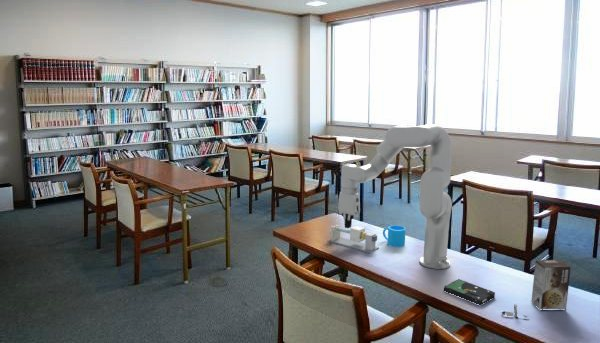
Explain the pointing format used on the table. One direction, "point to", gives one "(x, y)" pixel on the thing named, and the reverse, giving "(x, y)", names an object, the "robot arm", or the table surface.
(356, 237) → the sleeve
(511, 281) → the table surface
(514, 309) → the strap clip
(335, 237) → the cord rig
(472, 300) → the disk drive
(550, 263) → the coffee box
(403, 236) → the mug
